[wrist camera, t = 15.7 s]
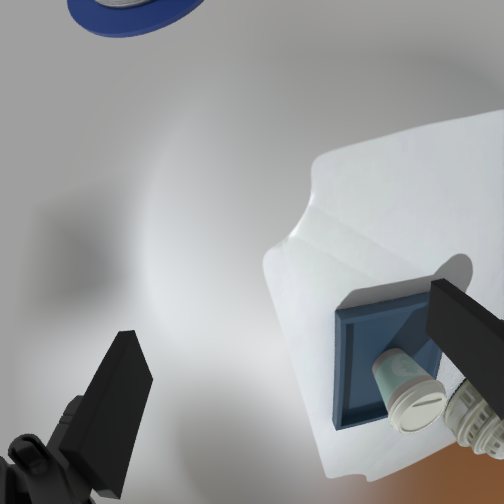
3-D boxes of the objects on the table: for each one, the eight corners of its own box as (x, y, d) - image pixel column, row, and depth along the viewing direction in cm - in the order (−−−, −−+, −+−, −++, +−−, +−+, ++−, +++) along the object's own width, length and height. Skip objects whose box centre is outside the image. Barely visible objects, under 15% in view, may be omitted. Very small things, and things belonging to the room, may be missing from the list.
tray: (334, 310, 40) (340, 319, 38) (442, 288, 40) (452, 295, 38) (332, 420, 46) (335, 430, 44) (422, 395, 47) (428, 403, 44)
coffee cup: (421, 353, 43) (459, 398, 31) (386, 391, 45) (415, 441, 33) (391, 331, 41) (431, 380, 30) (352, 373, 43) (380, 429, 31)
